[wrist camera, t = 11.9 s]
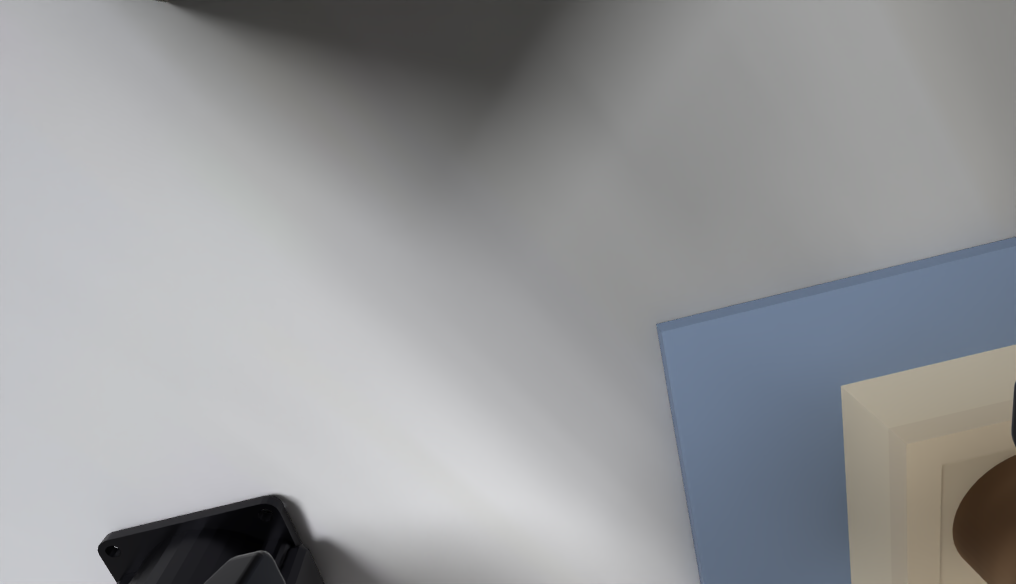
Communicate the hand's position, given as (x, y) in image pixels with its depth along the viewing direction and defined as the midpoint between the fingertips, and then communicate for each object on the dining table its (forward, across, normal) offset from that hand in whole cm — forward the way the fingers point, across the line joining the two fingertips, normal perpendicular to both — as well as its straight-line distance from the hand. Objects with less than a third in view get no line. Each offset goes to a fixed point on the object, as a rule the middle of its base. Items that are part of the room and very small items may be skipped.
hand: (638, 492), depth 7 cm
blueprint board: (+12, -13, +12) cm, 21 cm away
